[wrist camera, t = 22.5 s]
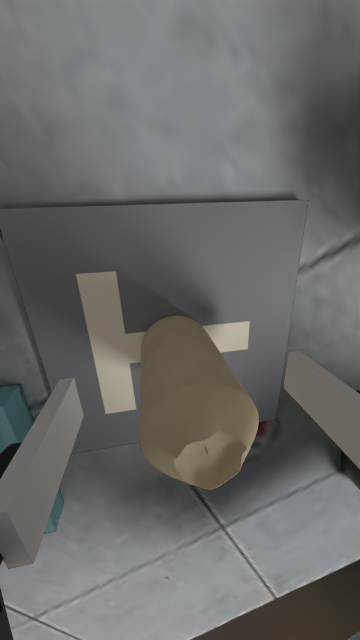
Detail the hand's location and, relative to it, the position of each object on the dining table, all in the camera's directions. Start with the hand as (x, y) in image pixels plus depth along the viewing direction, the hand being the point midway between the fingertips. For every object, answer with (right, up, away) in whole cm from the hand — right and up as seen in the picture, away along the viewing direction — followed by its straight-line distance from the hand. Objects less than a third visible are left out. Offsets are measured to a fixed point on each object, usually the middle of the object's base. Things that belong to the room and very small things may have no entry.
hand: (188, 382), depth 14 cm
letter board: (-1, +2, +5) cm, 6 cm away
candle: (-1, +2, +4) cm, 5 cm away
